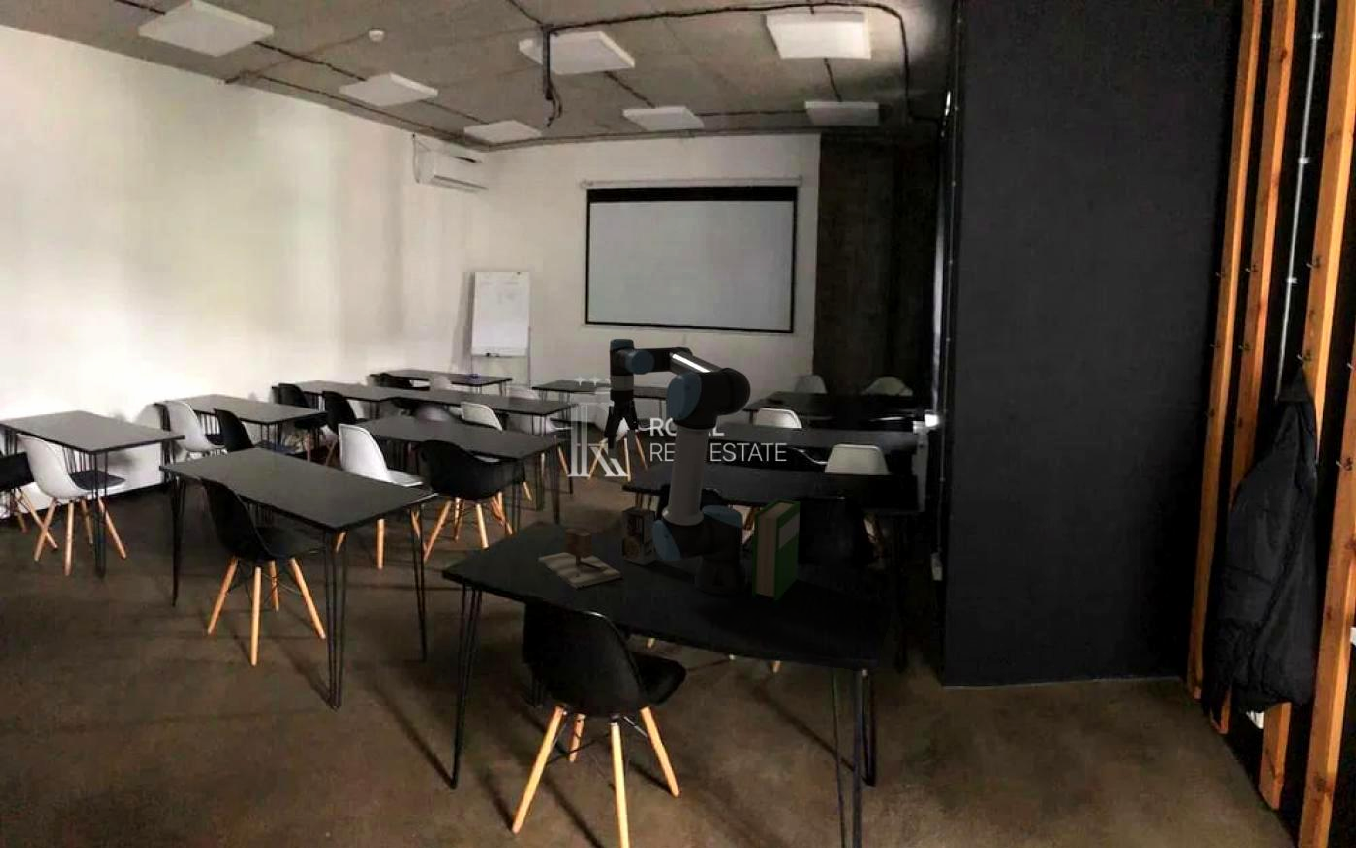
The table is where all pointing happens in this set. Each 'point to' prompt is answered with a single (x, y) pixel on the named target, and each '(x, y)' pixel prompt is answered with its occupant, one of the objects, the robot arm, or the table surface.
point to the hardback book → (775, 548)
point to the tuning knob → (579, 546)
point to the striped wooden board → (579, 569)
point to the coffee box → (638, 535)
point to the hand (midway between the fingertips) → (622, 453)
